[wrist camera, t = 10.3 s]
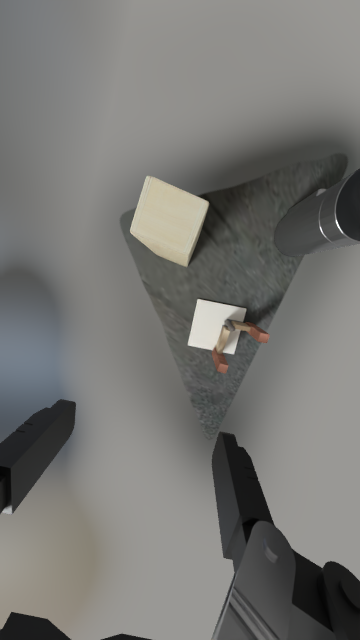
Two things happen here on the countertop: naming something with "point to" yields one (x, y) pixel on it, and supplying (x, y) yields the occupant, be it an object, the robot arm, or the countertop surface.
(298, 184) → the countertop surface
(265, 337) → the brown piece
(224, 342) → the toy gate half
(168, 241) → the upright wooden block
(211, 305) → the card
